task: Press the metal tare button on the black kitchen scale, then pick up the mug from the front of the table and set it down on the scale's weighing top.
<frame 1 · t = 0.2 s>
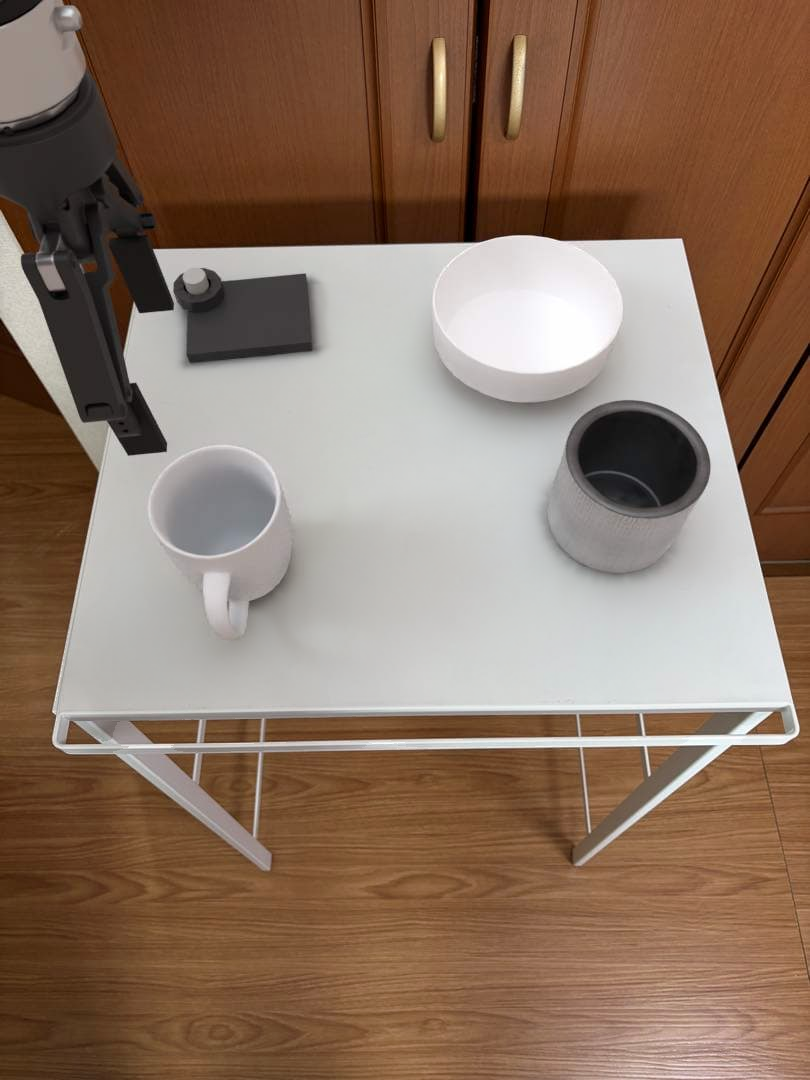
hand: (152, 375, 56), 22 cm above the table, tool pointing down, fingers open, 13 cm apart
planter: (608, 520, 74), on the table
bowl: (517, 358, 84), on the table
mug: (246, 579, 72), on the table
scale: (250, 321, 87), on the table
tare button: (195, 281, 86), point 4 cm above the table, slide at 0.1 cm
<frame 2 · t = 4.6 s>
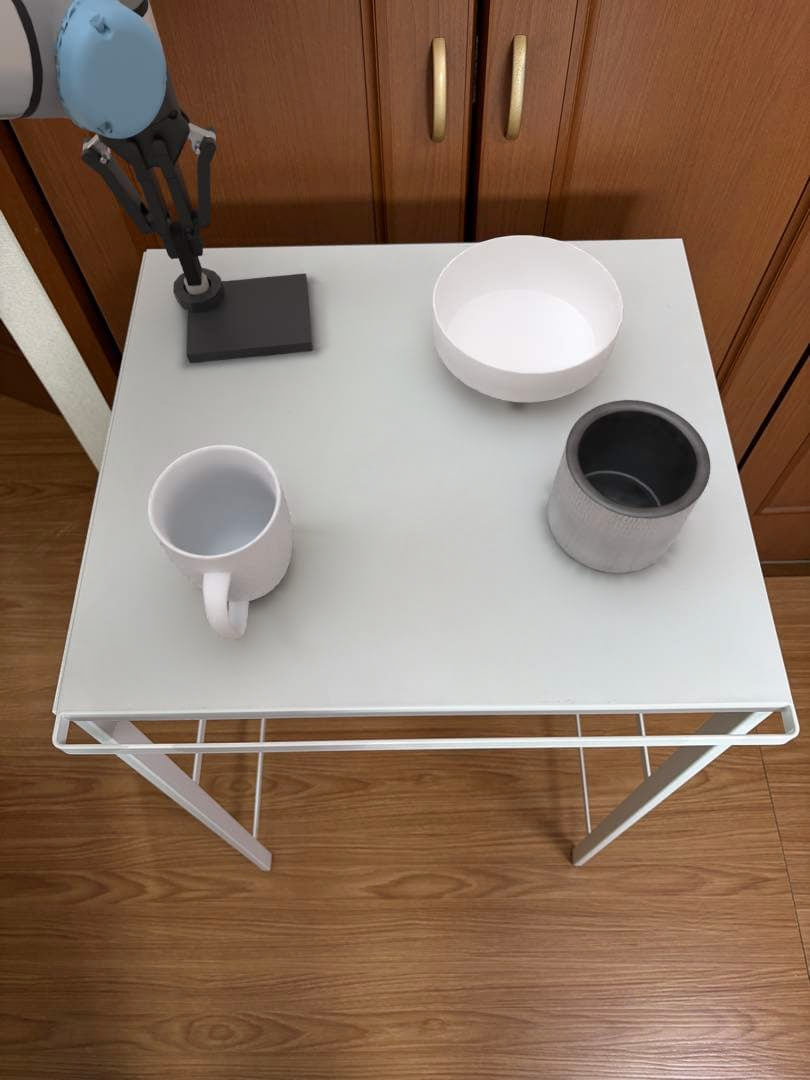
hand: (195, 276, 85), 4 cm above the table, tool pointing down, fingers closed
tare button: (197, 284, 86), point 3 cm above the table, slide at -0.4 cm, touching gripper
everything else where it was.
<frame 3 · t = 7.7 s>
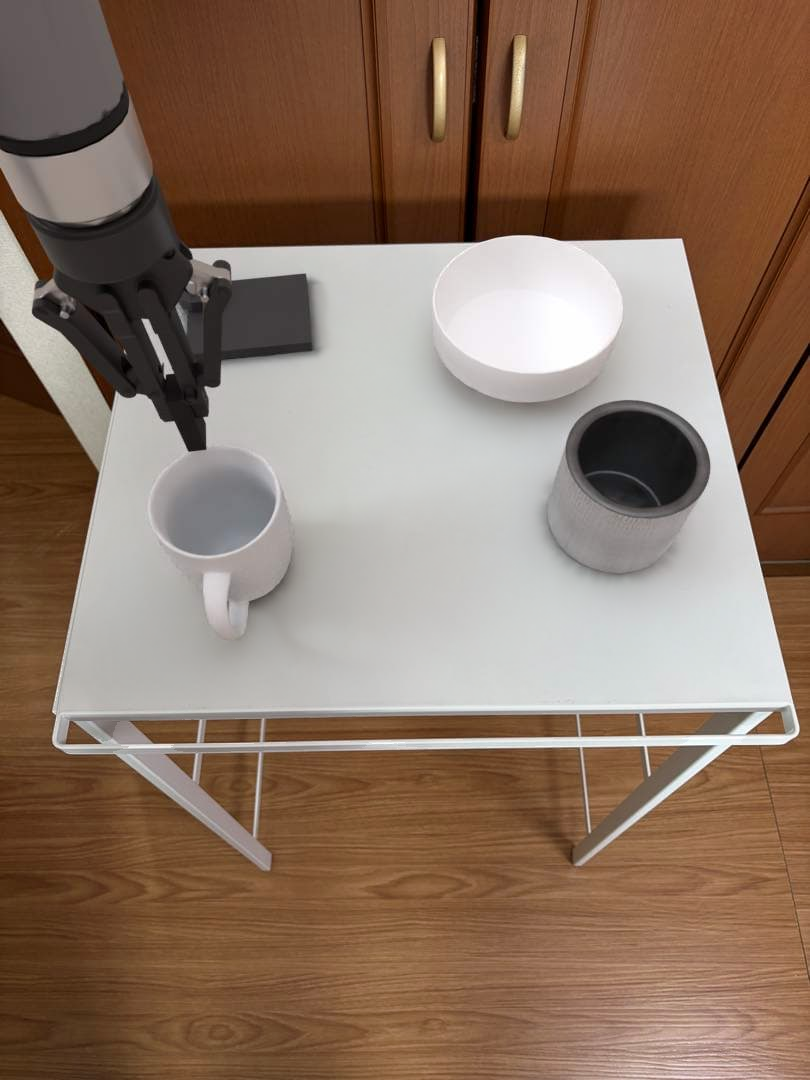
hand: (197, 437, 62), 14 cm above the table, tool pointing down, fingers closed
tare button: (195, 281, 86), point 4 cm above the table, slide at 0.1 cm
everything else where it was.
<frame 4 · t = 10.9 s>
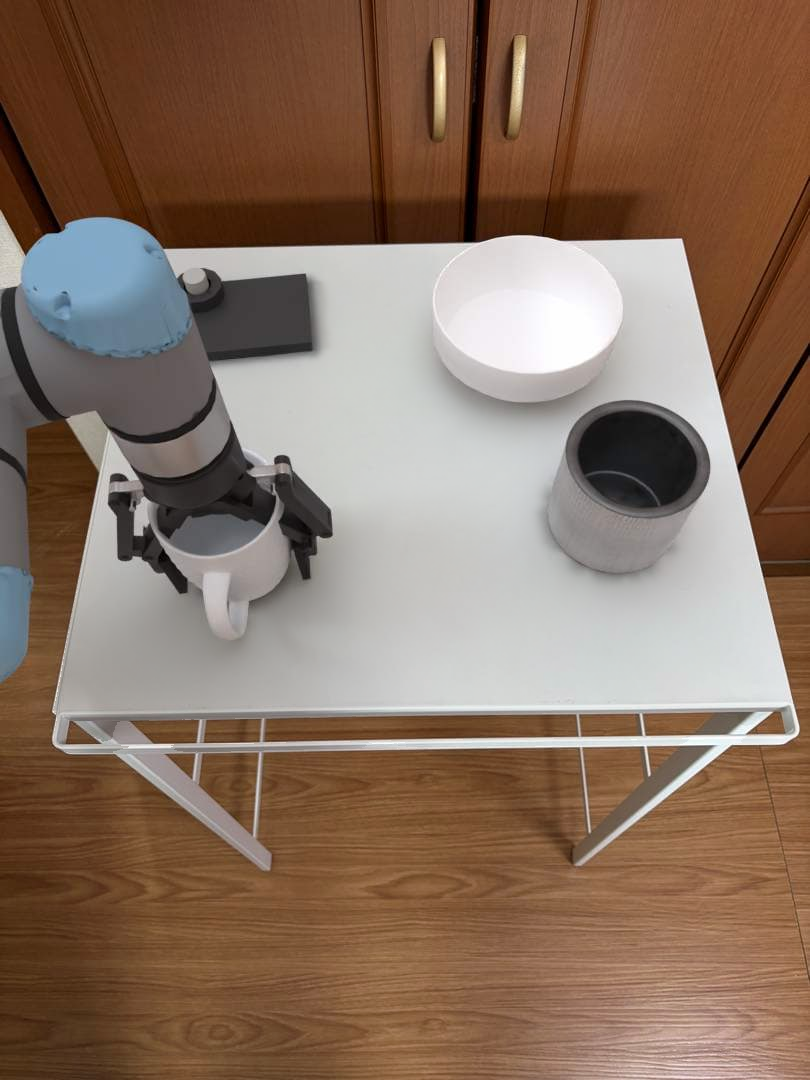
hand: (245, 573, 71), 1 cm above the table, tool pointing down, fingers closed on mug, 11 cm apart
mug: (246, 579, 72), on the table, touching gripper
everything else where it was.
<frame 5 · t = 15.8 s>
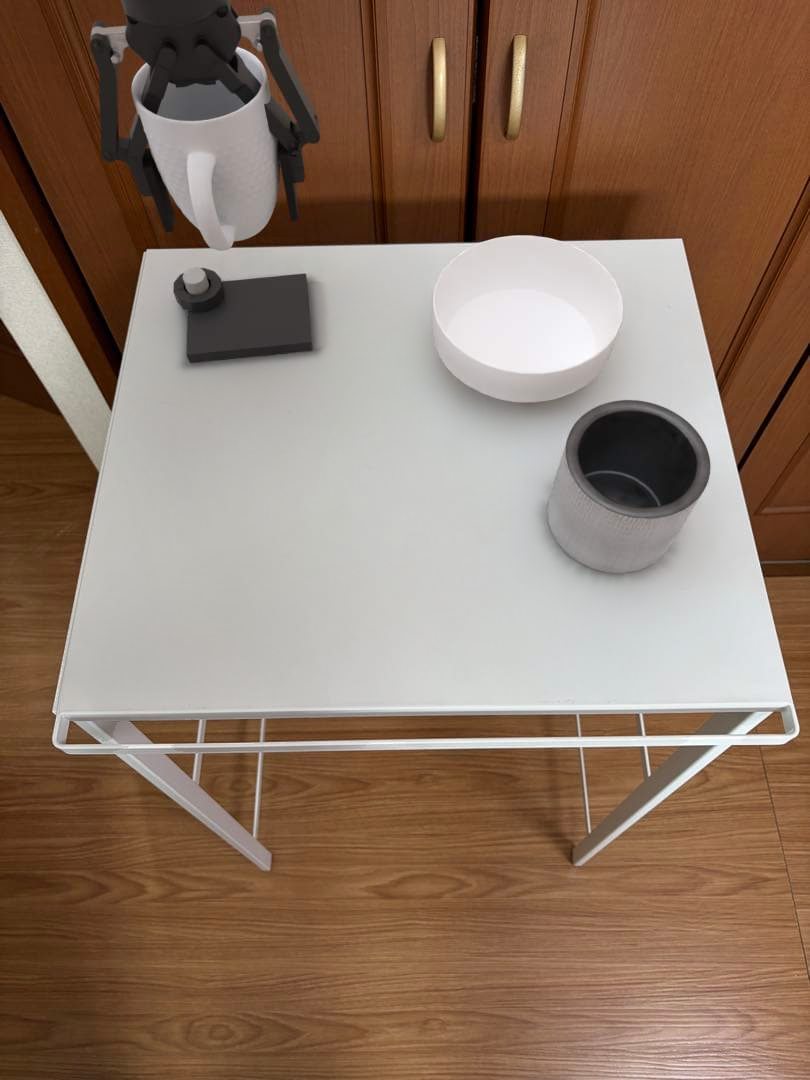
hand: (232, 216, 70), 18 cm above the table, tool pointing down, fingers closed on mug, 11 cm apart
mug: (234, 228, 71), point 16 cm above the table, touching gripper
everything else where it was.
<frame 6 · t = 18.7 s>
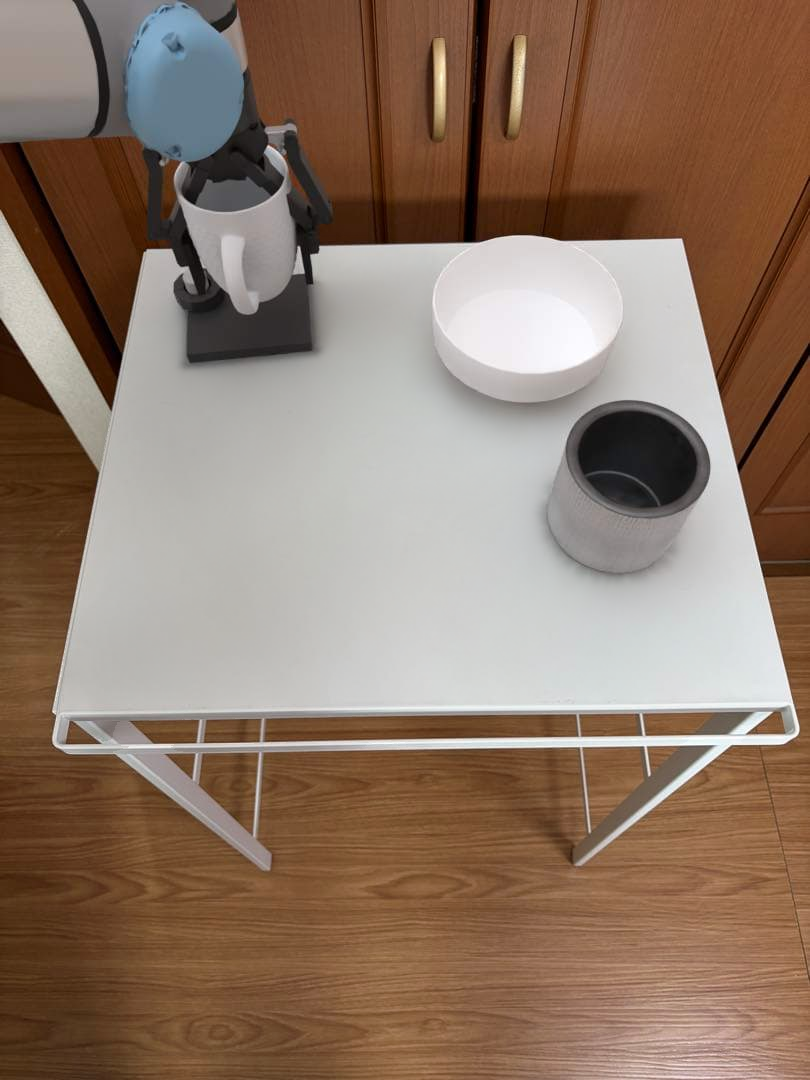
hand: (255, 281, 80), 7 cm above the table, tool pointing down, fingers closed on mug, 11 cm apart
mug: (257, 290, 81), point 6 cm above the table, touching gripper
everything else where it was.
when the fingers open (2 cm above the table, at t = 20.8 s): mug stays where it is, resting on scale.
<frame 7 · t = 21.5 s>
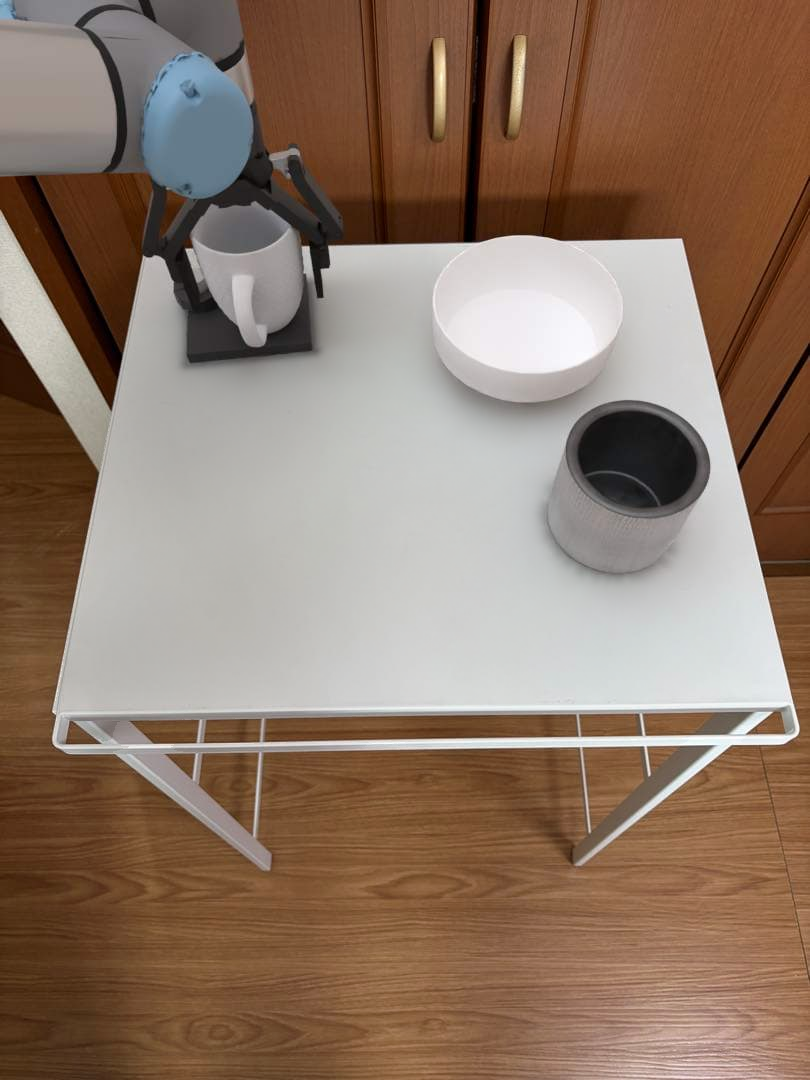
hand: (258, 295, 82), 5 cm above the table, tool pointing down, fingers open, 13 cm apart
mug: (264, 321, 86), point 1 cm above the table, touching scale
everything else where it was.
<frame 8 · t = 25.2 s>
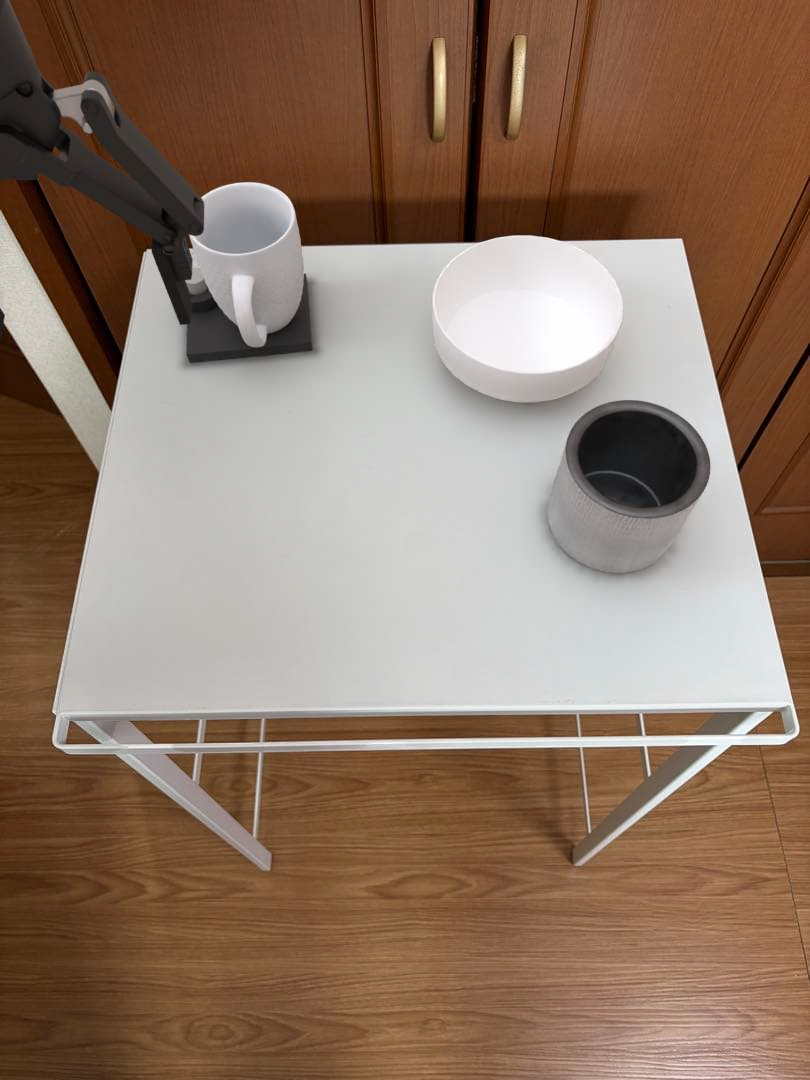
hand: (92, 320, 54), 25 cm above the table, tool pointing down, fingers open, 13 cm apart
nothing on the table moved.
at the end: tare button pushed in 0.8 cm at the most during the clip, back to where it started at the end; mug inside the target area on the scale (0.9 cm from its centre), point 1.2 cm above the scale's base; mug touching scale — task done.
